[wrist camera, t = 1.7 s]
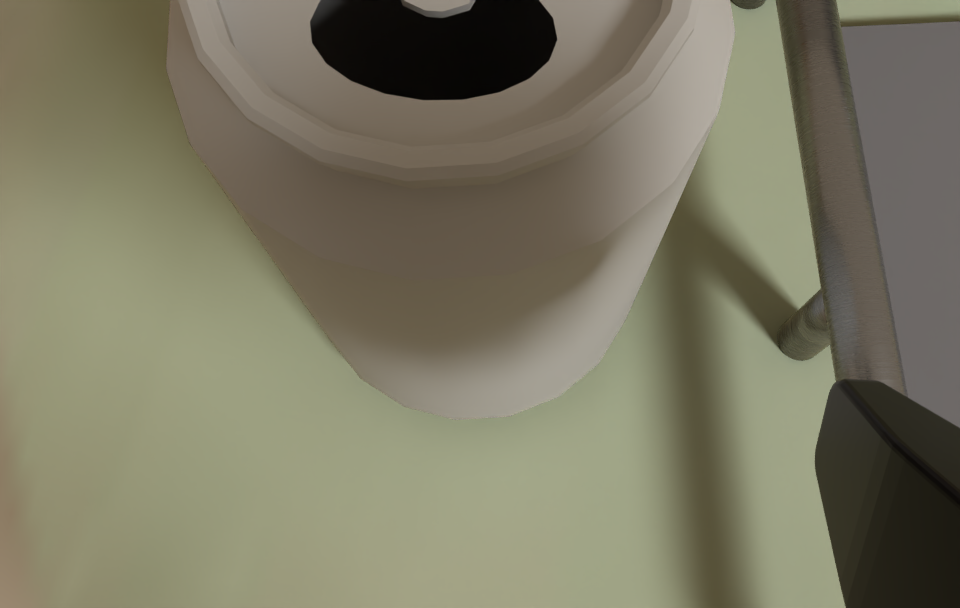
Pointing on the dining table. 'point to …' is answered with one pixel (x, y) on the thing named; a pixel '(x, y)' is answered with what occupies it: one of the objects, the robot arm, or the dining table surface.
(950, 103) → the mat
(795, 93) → the rail
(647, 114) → the can
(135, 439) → the dining table surface
